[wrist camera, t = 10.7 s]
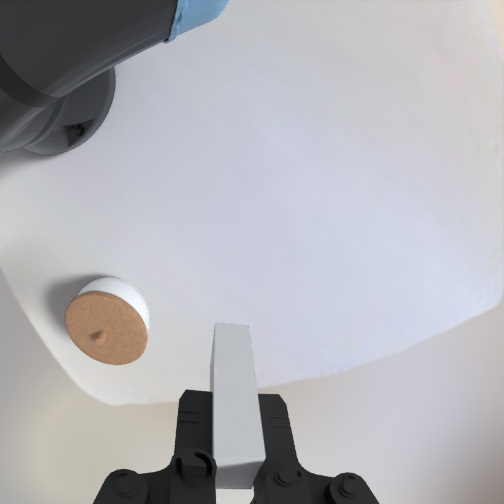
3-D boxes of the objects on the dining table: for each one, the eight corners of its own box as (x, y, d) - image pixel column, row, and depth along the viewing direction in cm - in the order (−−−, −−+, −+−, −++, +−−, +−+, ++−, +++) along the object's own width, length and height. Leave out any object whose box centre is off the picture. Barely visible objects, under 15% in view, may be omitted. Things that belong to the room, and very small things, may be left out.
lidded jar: (76, 305, 40) (51, 345, 32) (101, 249, 37) (72, 285, 29) (138, 340, 43) (124, 386, 35) (170, 290, 40) (159, 335, 32)
